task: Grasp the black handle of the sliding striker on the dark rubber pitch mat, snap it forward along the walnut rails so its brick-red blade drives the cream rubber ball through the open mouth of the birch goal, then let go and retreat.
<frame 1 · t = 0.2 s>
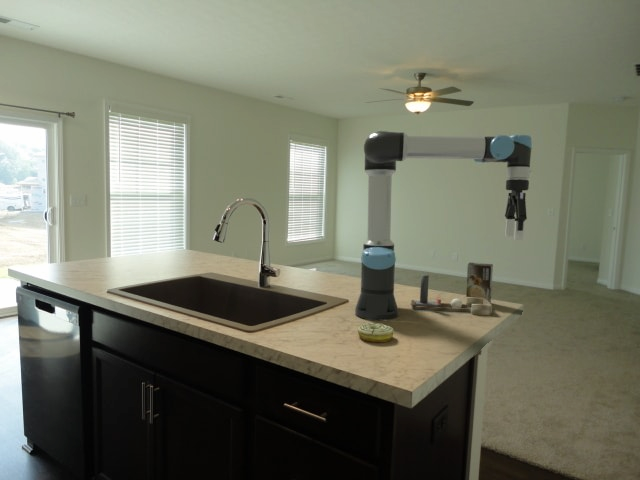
hand: (513, 238, 165), 28 cm above the counter, fingers open, 13 cm apart
goal: (478, 310, 169), resting on pitch mat
rail: (441, 308, 171), resting on pitch mat
striker: (428, 291, 171), point 7 cm above the counter, slide at 0.0 cm
ball: (456, 304, 170), point 2 cm above the counter, touching pitch mat
coffee box: (478, 304, 181), on the counter
pitch mat: (449, 309, 170), on the counter
decorated donut: (375, 339, 136), on the counter
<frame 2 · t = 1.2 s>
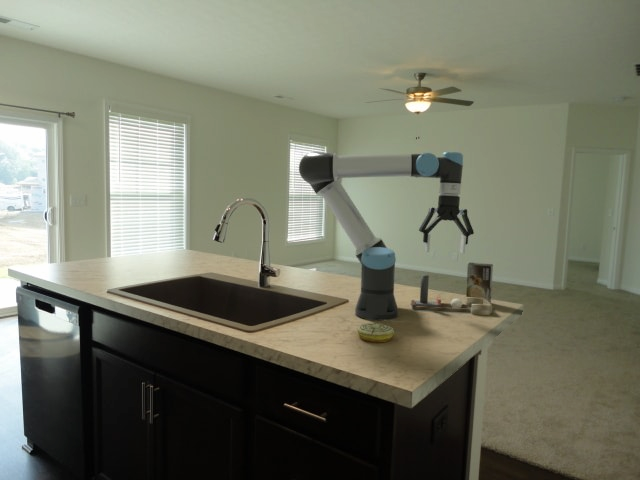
hand: (444, 252, 169), 22 cm above the counter, fingers open, 13 cm apart
nothing on the counter moved.
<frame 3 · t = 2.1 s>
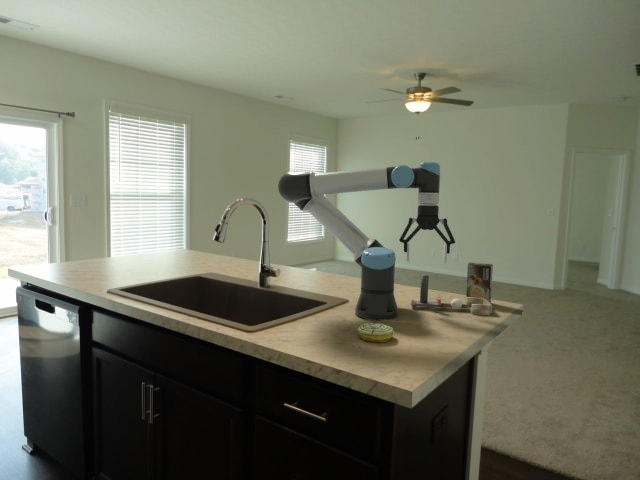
hand: (426, 261, 170), 18 cm above the counter, fingers open, 13 cm apart
nothing on the counter moved.
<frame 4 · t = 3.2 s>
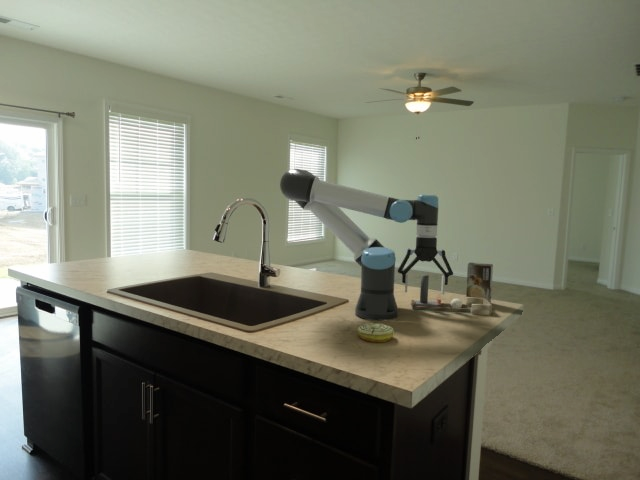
hand: (424, 292, 171), 6 cm above the counter, fingers open, 13 cm apart
nothing on the counter moved.
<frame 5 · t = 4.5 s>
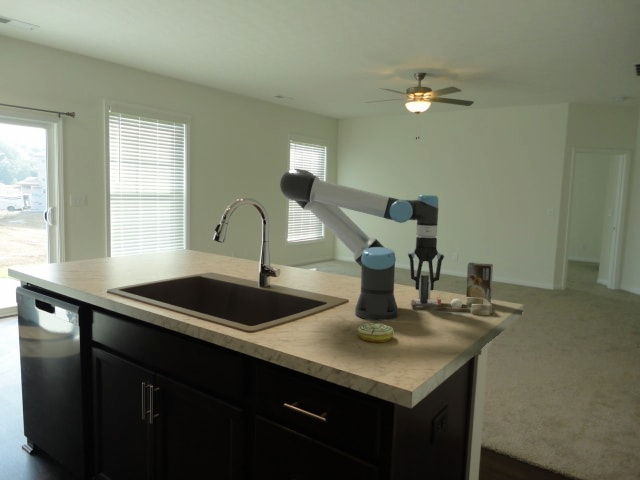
hand: (423, 298, 171), 4 cm above the counter, fingers closed on striker, 3 cm apart
striker: (428, 291, 171), point 7 cm above the counter, slide at 0.0 cm, touching gripper
everything else where it was.
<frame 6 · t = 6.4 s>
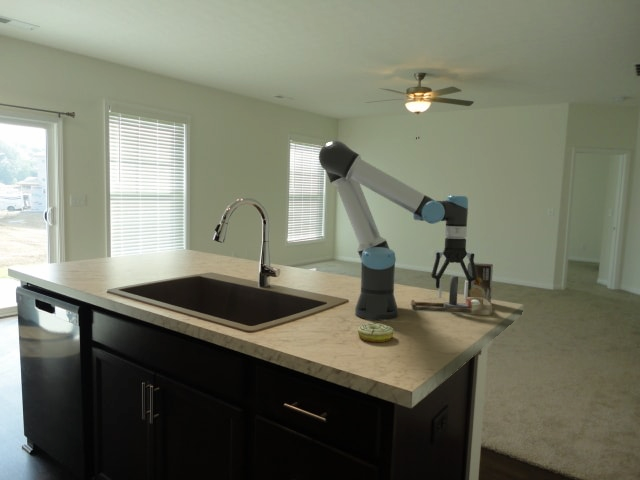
hand: (452, 297, 170), 5 cm above the counter, fingers open, 9 cm apart
striker: (457, 292, 169), point 7 cm above the counter, slide at 10.7 cm
ball: (475, 304, 169), point 2 cm above the counter, tilted 120°, touching pitch mat
everything else where it was.
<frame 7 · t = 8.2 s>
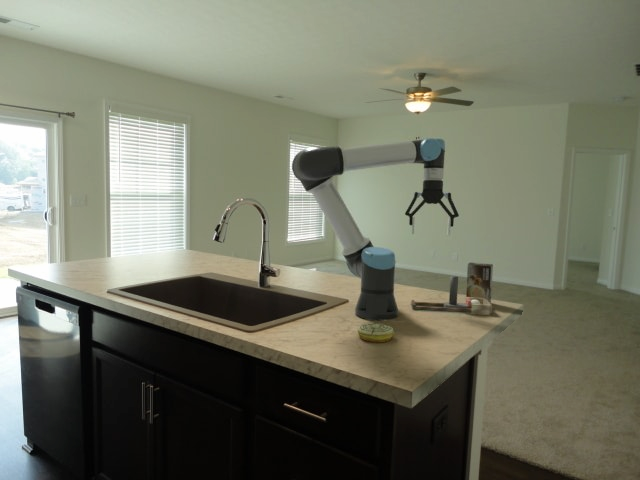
hand: (430, 234, 177), 27 cm above the counter, fingers open, 13 cm apart
nothing on the counter moved.
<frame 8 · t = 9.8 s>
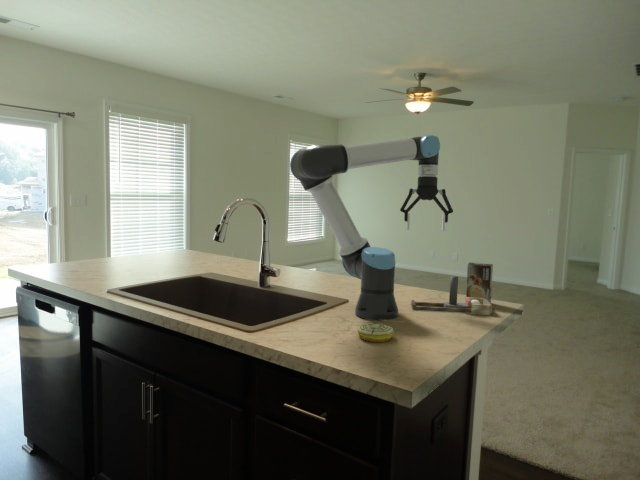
hand: (425, 230, 180), 29 cm above the counter, fingers open, 13 cm apart
nothing on the counter moved.
at the end: ball inside the target area on the goal (1.1 cm from its centre), point 2.0 cm above the goal's base; striker slide at 10.7 cm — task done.
